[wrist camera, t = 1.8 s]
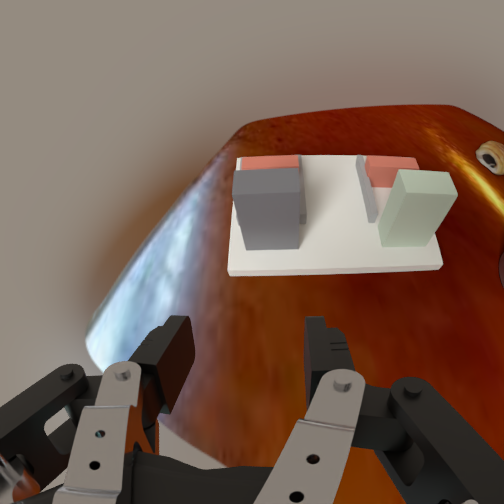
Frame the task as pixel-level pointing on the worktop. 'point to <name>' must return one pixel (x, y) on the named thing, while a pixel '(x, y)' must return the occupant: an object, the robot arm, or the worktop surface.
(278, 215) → the grey upright block
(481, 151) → the pastry
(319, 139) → the worktop surface
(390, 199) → the pale green tall block
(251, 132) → the worktop surface
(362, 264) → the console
